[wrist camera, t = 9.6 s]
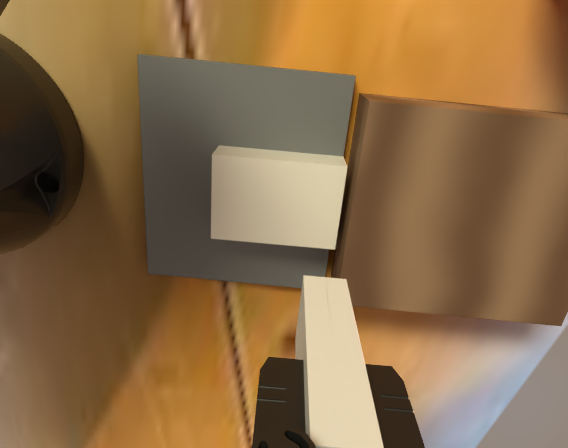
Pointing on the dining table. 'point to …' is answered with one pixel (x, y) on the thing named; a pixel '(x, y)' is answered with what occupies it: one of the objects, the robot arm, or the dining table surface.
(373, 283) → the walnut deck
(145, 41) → the dining table surface
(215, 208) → the ceramic tile
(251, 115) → the charcoal mat
